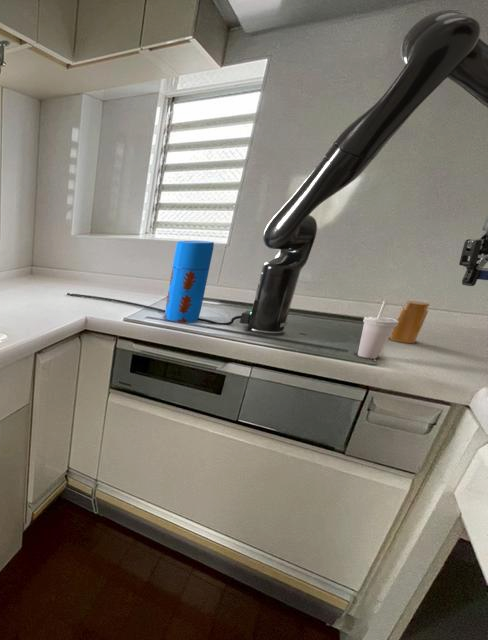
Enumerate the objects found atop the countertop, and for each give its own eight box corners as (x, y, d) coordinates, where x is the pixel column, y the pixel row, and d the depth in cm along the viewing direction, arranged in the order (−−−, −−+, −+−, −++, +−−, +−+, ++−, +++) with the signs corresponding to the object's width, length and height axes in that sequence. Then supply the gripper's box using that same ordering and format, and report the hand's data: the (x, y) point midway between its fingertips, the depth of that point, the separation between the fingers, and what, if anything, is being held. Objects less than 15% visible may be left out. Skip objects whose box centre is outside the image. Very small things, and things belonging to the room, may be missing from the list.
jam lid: (484, 276, 97) (488, 267, 96) (510, 280, 92) (515, 271, 91) (459, 276, 97) (463, 267, 96) (484, 280, 92) (488, 271, 91)
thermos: (164, 321, 134) (178, 242, 125) (163, 313, 144) (175, 240, 134) (200, 323, 131) (217, 243, 121) (197, 316, 140) (212, 241, 131)
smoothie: (350, 350, 106) (370, 297, 101) (383, 355, 103) (405, 301, 97) (351, 356, 102) (371, 302, 96) (385, 362, 98) (408, 305, 93)
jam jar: (395, 342, 113) (410, 304, 109) (386, 336, 117) (400, 300, 113) (419, 343, 111) (435, 305, 107) (408, 338, 116) (424, 301, 111)
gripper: (502, 208, 85) (466, 288, 92) (573, 208, 85) (532, 288, 91) (464, 208, 92) (434, 282, 98) (530, 208, 92) (495, 282, 98)
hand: (481, 285), depth 95 cm, fingers closed on jam lid, 5 cm apart
